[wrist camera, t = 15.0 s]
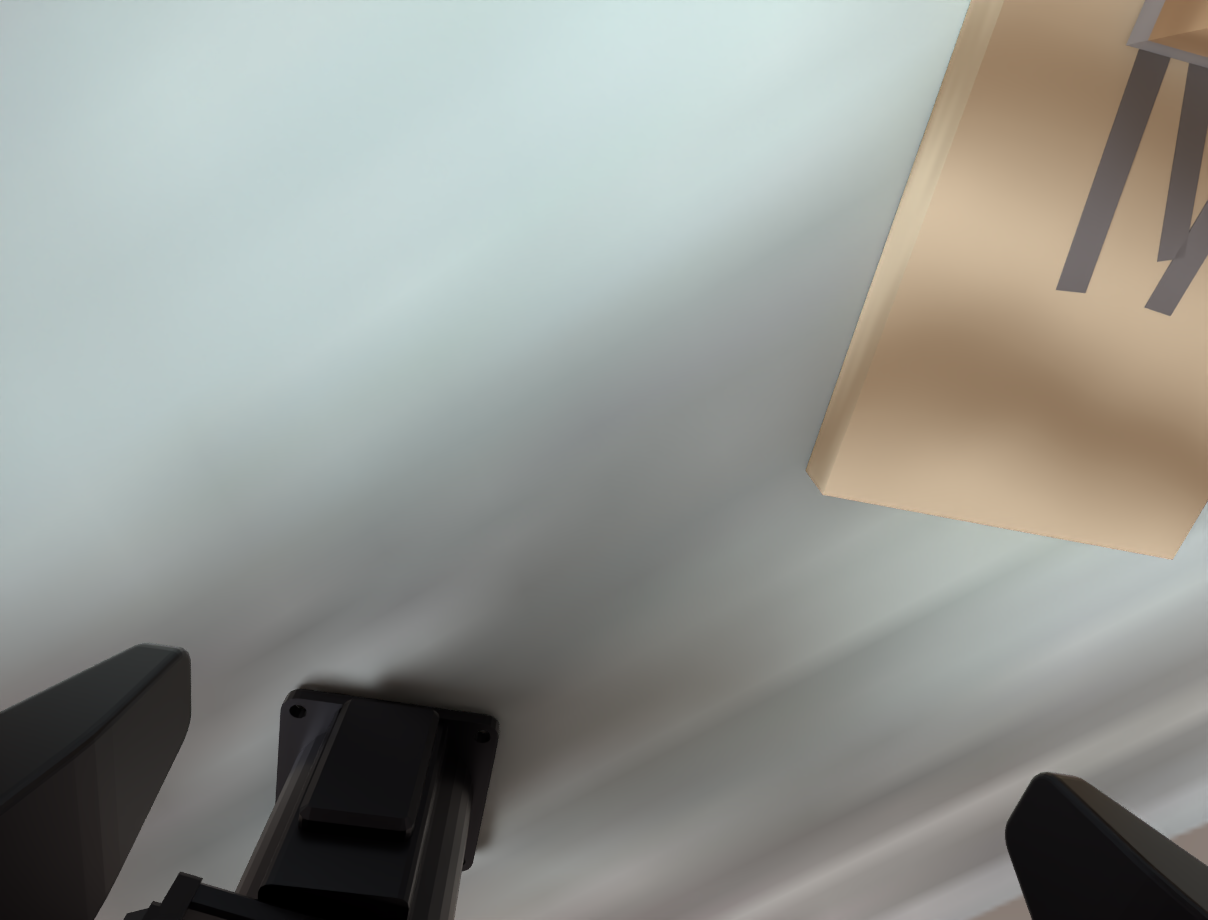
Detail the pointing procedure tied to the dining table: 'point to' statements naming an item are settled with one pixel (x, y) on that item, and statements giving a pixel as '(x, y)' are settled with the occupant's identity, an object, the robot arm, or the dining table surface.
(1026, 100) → the board
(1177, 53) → the block
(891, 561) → the dining table surface
